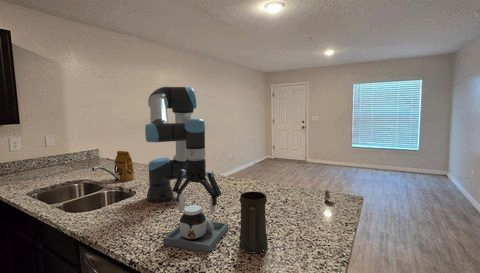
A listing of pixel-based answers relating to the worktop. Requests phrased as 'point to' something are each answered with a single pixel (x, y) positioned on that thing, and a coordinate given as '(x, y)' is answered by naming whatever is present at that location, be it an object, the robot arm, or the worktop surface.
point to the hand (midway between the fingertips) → (196, 211)
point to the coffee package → (124, 166)
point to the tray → (199, 245)
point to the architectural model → (327, 195)
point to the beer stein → (253, 222)
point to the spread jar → (194, 223)
